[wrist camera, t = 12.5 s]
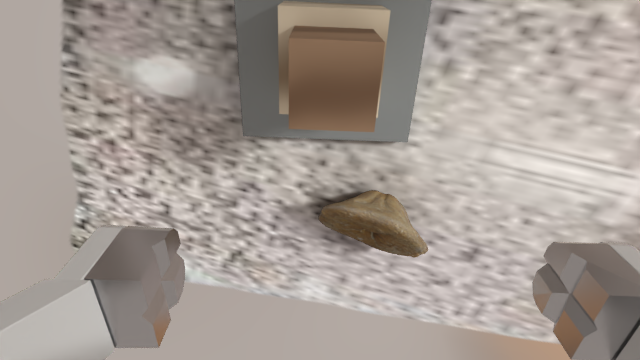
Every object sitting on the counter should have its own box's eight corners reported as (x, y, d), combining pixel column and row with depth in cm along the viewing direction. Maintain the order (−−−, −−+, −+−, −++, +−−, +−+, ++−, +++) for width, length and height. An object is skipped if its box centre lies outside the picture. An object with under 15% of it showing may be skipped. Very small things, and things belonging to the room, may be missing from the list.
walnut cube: (294, 25, 24) (288, 38, 19) (373, 28, 24) (385, 42, 19) (294, 102, 26) (288, 129, 22) (365, 105, 26) (374, 132, 22)
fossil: (320, 206, 30) (441, 250, 29) (338, 159, 31) (453, 200, 30) (314, 230, 38) (407, 264, 37) (328, 191, 39) (418, 224, 39)
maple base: (283, 0, 27) (277, 5, 23) (381, 5, 27) (390, 10, 23) (284, 97, 30) (279, 113, 26) (370, 100, 30) (377, 117, 27)
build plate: (233, -59, 26) (230, -60, 25) (436, -50, 26) (440, -50, 25) (245, 131, 32) (243, 136, 32) (405, 137, 33) (407, 142, 32)
